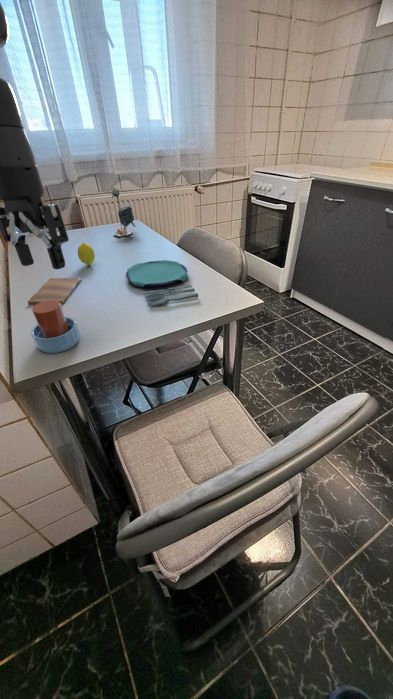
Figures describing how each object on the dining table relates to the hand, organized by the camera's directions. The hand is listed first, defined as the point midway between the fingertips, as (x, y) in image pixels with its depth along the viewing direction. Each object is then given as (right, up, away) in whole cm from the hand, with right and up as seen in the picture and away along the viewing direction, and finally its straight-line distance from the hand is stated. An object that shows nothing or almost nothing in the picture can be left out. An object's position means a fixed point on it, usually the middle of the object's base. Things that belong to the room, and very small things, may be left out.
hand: (43, 266), depth 55 cm
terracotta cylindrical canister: (-3, -13, +13) cm, 18 cm away
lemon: (-10, +15, +51) cm, 54 cm away
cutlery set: (+17, +5, +38) cm, 42 cm away
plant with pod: (-4, +38, +82) cm, 91 cm away
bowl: (-3, -14, +13) cm, 19 cm away
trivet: (-14, +2, +34) cm, 37 cm away
